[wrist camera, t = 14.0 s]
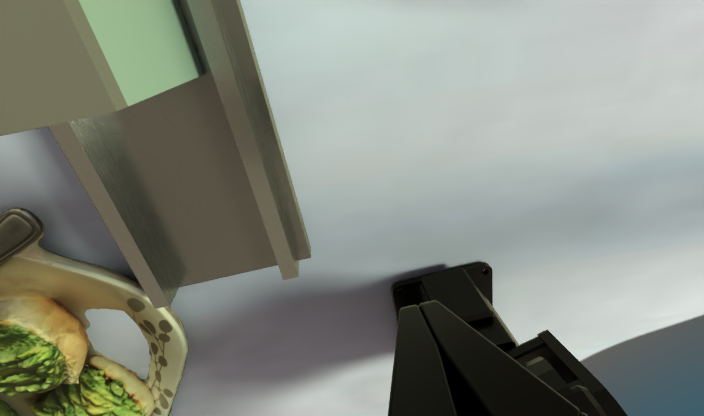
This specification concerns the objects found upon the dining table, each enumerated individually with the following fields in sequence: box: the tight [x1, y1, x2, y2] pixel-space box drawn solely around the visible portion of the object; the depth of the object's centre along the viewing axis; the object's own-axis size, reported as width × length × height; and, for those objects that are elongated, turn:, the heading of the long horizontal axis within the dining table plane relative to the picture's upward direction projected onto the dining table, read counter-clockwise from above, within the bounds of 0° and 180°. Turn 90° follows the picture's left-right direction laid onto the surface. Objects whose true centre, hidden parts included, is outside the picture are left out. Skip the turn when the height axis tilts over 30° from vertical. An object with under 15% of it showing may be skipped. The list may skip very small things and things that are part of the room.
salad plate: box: [0, 208, 189, 416], centre depth 20 cm, size 19×18×5 cm
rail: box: [48, 0, 311, 309], centre depth 15 cm, size 18×9×4 cm, turn 10°
